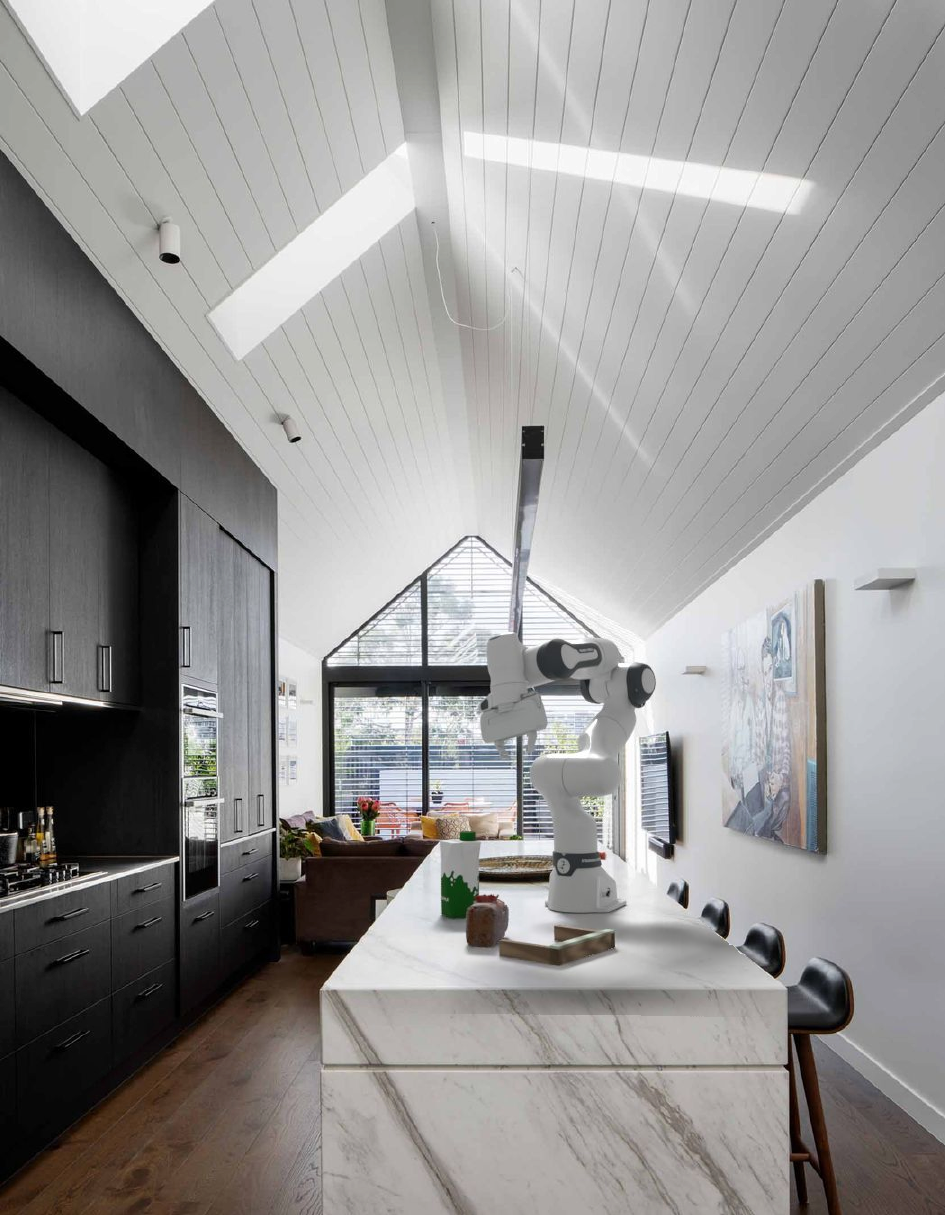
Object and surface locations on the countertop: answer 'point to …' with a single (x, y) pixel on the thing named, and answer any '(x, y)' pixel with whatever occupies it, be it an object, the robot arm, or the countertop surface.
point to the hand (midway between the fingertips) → (517, 755)
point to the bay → (561, 946)
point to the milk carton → (459, 874)
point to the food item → (486, 921)
